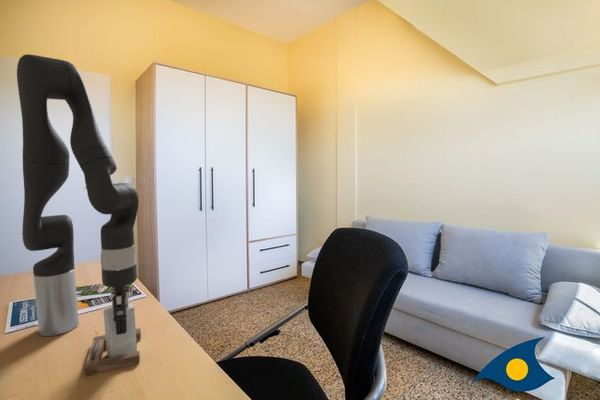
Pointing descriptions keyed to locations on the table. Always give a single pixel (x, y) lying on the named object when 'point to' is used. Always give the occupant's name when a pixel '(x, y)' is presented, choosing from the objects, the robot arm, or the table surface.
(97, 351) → the wooden u-shaped block
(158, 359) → the table surface
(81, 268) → the table surface
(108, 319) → the skincare box
